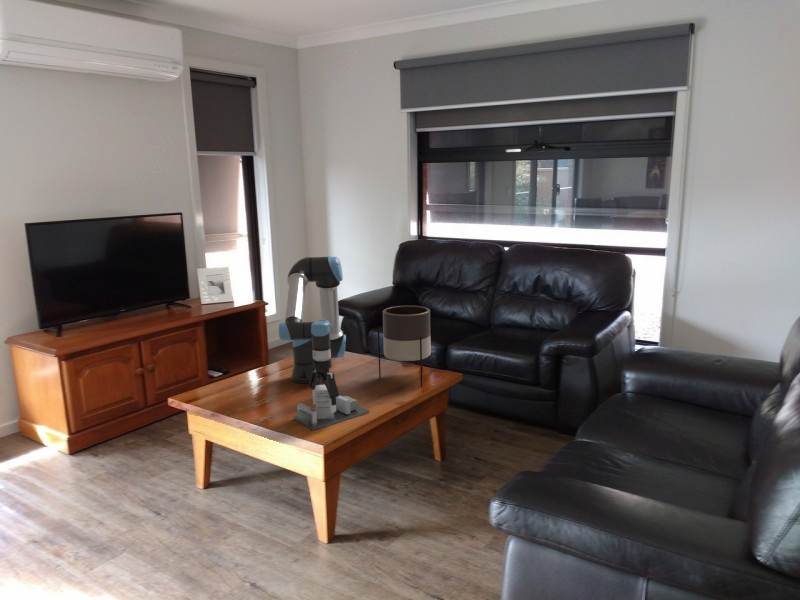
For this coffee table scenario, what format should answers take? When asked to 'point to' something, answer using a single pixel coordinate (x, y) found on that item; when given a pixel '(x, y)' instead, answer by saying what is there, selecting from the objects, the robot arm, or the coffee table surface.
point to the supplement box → (322, 402)
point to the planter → (406, 334)
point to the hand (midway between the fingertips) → (324, 407)
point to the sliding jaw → (345, 404)
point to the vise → (310, 420)
